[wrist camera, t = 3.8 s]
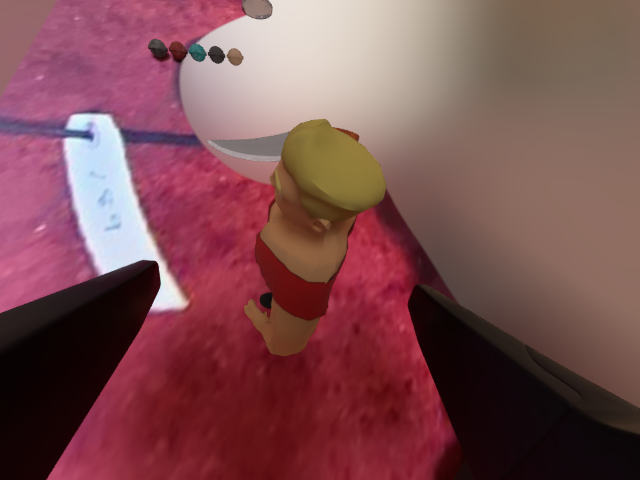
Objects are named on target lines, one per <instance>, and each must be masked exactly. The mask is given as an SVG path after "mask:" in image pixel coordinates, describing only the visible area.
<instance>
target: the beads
mask: <svg viewBox="0 0 640 480" xmlns="http://www.w3.org/2000/svg"><path fill="white" fill-rule="evenodd" d="M148 48H149V49H150V50H151V52H152V53H153V54H154V55H155V56H157V57H164V56H165V55H166V53H167V52H168V49H167V48H166V46H165V45H164V43H163V42H162V41H160V40H158V39H153V40H151V41H150V43H149V45H148ZM169 51H170V52H171V53H172V55H173V56H174V57H175V58H177V59H180V60H181V59H184V58H185V57H186V54H188V52H187V50H186V49H185V47H184V46H183V44H181V43H180V42H177V41H175V42H172V43H171V45H170V47H169ZM189 53H190V54H191V56H192V57H193V59H194V60H196V61H199V62H201V61H203V60H204V59H205V56H206V55H207V54H206V52H205V50H204V49H203V47H202V46H200V45H199V44H193V45H191V47H190V50H189ZM208 55H209V56H210V58H211V60H212V61H213V62H215V63H218V64H219V63H222V62H223V60H224V58H225V54H224V53H223V51H222V50H221V49H220V48H219V47H217V46H213V47H211V48H210V50H209V52H208ZM227 58H228V59H229V61H230V62H231V63H232V64H233V65H239V64H241V62H242V60H243V56H242V54H241V52H240V51H238V50H237V49H235V48H233V49H231V50H229V52H228V54H227Z"/></svg>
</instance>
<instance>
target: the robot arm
mask: <svg viewBox="0 0 640 480" xmlns="http://www.w3.org/2000/svg"><path fill="white" fill-rule="evenodd" d="M160 285H161V281H160V273H159V266H158V263H157V262H156V261H149V260H141V261H138V262H136V263H133V264H130V265H128V266H125V267H122V268H120V269H117V270H114V271H112V272H109V273H106V274H104V275H101V276H98V277H96V278H93V279H90V280H88V281H85V282H82V283H80V284H77V285H74V286H72V287H69V288H66V289H64V290H61V291H58V292H56V293H53V294H50V295H48V296H45V297H42V298H40V299H37V300H34V301H32V302H29V303H26V304H24V305H21V306H18V307H16V308H13V309H10V310H8V311H5V312H2V313H0V480H46V479H47V478H48V476H49V475H50V473H51V471H52V470H53V468H54V467H55V465H56V463H57V462H58V460H59V459H60V457H61V455H62V454H63V452H64V451H65V449H66V447H67V446H68V444H69V443H70V441H71V439H72V438H73V436H74V435H75V433H76V431H77V430H78V428H79V427H80V425H81V423H82V422H83V420H84V419H85V417H86V416H87V414H88V412H89V411H90V409H91V408H92V406H93V404H94V403H95V401H96V400H97V398H98V396H99V395H100V393H101V392H102V390H103V388H104V387H105V385H106V384H107V382H108V380H109V379H110V377H111V376H112V374H113V372H114V371H115V369H116V368H117V366H118V364H119V363H120V361H121V360H122V358H123V356H124V355H125V353H126V352H127V350H128V348H129V347H130V345H131V344H132V342H133V340H134V339H135V337H136V336H137V334H138V332H139V330H140V329H141V327H142V325H143V323H144V321H145V318H146V316H147V314H148V312H149V310H150V308H151V306H152V304H153V302H154V300H155V298H156V295H157V293H158V291H159V289H160ZM408 309H409V313H410V316H411V320H412V323H413V326H414V330H415V333H416V337H417V340H418V343H419V346H420V348H421V351H422V353H423V356H424V358H425V361H426V363H427V366H428V368H429V370H430V373H431V375H432V378H433V380H434V383H435V385H436V388H437V390H438V392H439V395H440V397H441V400H442V402H443V405H444V407H445V410H446V412H447V414H448V417H449V419H450V422H451V424H452V427H453V429H454V432H455V434H456V436H457V439H458V441H459V444H460V446H461V449H462V451H463V454H464V456H465V458H466V461H467V463H468V466H469V468H470V471H471V473H472V475H473V478H474V480H640V408H638V407H636V406H634V405H632V404H631V403H629V402H627V401H625V400H624V399H622V398H620V397H618V396H616V395H614V394H612V393H611V392H609V391H607V390H605V389H604V388H602V387H600V386H598V385H596V384H594V383H593V382H591V381H589V380H587V379H585V378H583V377H582V376H580V375H578V374H576V373H575V372H573V371H571V370H569V369H567V368H565V367H564V366H562V365H560V364H558V363H557V362H555V361H553V360H552V359H550V358H548V357H546V356H545V355H543V354H541V353H540V352H538V351H536V350H535V349H533V348H531V347H529V346H528V345H526V344H524V343H522V342H521V341H519V340H518V339H516V338H514V337H513V336H511V335H509V334H508V333H506V332H504V331H502V330H501V329H499V328H498V327H496V326H494V325H493V324H491V323H489V322H488V321H486V320H484V319H482V318H481V317H479V316H478V315H476V314H474V313H473V312H471V311H469V310H468V309H466V308H464V307H463V306H461V305H459V304H458V303H456V302H454V301H453V300H451V299H449V298H448V297H446V296H444V295H443V294H441V293H439V292H438V291H436V290H434V289H433V288H431V287H429V286H427V285H421V284H417V285H415V286H414V288H413V290H412V293H411V295H410V298H409V300H408Z"/></svg>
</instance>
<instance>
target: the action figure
mask: <svg viewBox="0 0 640 480" xmlns="http://www.w3.org/2000/svg"><path fill="white" fill-rule="evenodd" d="M270 181H271V184H272V186H273V187H275V198H274V199H273V200H272V202H271V203H270V205H269V211H268V222H267V224H266V225H265V227H264V228H263V230H262V231H260V232H259V233H258V234H257V235H256V245H255V255H256V262H257V264H258V265H259V267H260V271H261V274H262V276H263V277H264V279H265V280H266V284H267V286H268V287H269V288H270V290H271V291H272V293H266V294H263V295H261V297H260V303H261V304H262V305H263V306H264V307H266V308H269V309H271V316H270V317H269V318H268V317H267V312H264V313H262V312H261V311H260V310H259V309H258V308H257V307H256V303H255V301H254V300H252V299H251V300H249V301H248V305H245V306H244V310H245V314H246V315H247V316H248V317H249V318H250V319H251V320H252V322H253V324H254V326H255V328H256V329H257V330H258V331H259V332H260V333H262V335H263V337H264V340H265V343H266V345H267V348H268V349H269V351H270V353H271V354H275V355H280V356H288V355H291V354H295V353H299V352H300V351H301V350H303V349H304V348H305V347H306V345H307V342H308V339H309V338H310V336H311V335H312V334H313V333H314V331H315V329H316V327H317V324H318V322H319V319H320V317H321V316H323V315H325V313H326V311H327V308H328V300H329V295H330V292H331V288H332V286H333V283H334V281H335V279H336V277H337V275H338V273H339V271H340V269H341V267H342V265H343V262H344V260H345V257H346V253H347V250H348V237H349V236H350V234H351V233H352V231H353V228H354V224H355V221H356V217H357V215H358V214H360V213H362V212H364V211H366V210H367V209H369V208H371V207H374V206H376V205H377V204H378V203H379V202H380V201H381V200H382V199H383V198H384V194H385V190H386V182H385V179H384V176H383V173H382V170H381V166H380V164H379V162H378V161H377V160H375V158H374V157H373V156H372V155H371V154H370V153H369V152H368V150H367V149H366V148H365V147H364V146H363V145H362V144H360V143H359V142H357V141H356V140H354V139H353V138H351V137H350V136H349V135H347V134H345V133H343V132H341V131H339V130H337V129H335V128H333V127H331V125H330V123H329V122H328V121H327V120H326V119H319V120H311V121H307V122H304V123H300V124H299V125H297V126H296V127H295V128H294V129H292V130H291V131H290V132H289V134H288V136H287V138H286V139H285V141H284V144H283V149H282V151H281V159H280V162H279V164H278V166H277V167H276V169H275V171H274V172H273V173H272V175H271V176H270Z"/></svg>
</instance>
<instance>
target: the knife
mask: <svg viewBox="0 0 640 480" xmlns="http://www.w3.org/2000/svg"><path fill="white" fill-rule="evenodd" d="M333 128H334V127H333ZM335 129H337V130H339V131H341V132H343V133H345V134H347V135H349V136H350V137H351V138H353V139H354V140H356V141H357V142H358V140H359V135H357V134H356V133H353V132H351V131H347V130H344V129H340V128H335ZM288 134H289V132H287V133H283V134H279V135H275V136H269V137H262V138H255V139H243V140H206V141H207V142H208V143H209V144H210V145H212V146H213V147H214V148H216V149H217V150H219V151H221V152H223V153H225V154H227V155H230V156H233V157H237V158H241V159H245V160H252V161H268V162H269V161H271V162H275V161H280V159H281V151H282V149H283V144H284V141H285V139H286V138H287V136H288Z"/></svg>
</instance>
